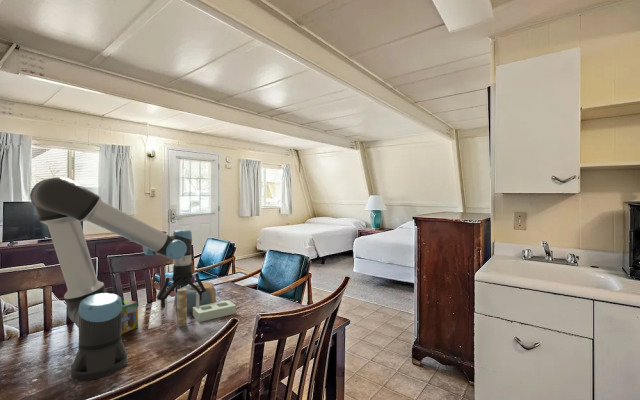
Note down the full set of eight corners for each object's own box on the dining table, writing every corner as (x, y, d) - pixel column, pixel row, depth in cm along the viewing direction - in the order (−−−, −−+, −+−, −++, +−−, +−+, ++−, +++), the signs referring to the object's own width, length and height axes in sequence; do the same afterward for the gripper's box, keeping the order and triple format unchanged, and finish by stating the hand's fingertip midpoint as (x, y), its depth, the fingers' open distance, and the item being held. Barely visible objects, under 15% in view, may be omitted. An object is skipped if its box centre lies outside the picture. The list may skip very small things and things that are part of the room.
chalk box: (138, 328, 131) (139, 294, 131) (116, 336, 122) (116, 300, 122) (126, 324, 135) (126, 291, 135) (103, 332, 127) (104, 297, 127)
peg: (178, 327, 132) (178, 291, 132) (176, 324, 134) (177, 289, 134) (186, 325, 134) (187, 290, 134) (184, 322, 136) (185, 288, 136)
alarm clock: (220, 308, 156) (220, 285, 156) (178, 316, 144) (179, 291, 144) (211, 298, 172) (211, 277, 172) (172, 304, 160) (173, 282, 160)
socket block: (198, 322, 138) (198, 313, 138) (192, 315, 146) (192, 307, 146) (235, 313, 149) (236, 305, 149) (228, 307, 157) (228, 299, 157)
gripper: (152, 269, 124) (151, 320, 124) (213, 262, 139) (212, 307, 139) (149, 266, 129) (149, 314, 129) (208, 259, 145) (207, 303, 145)
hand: (181, 311), depth 134 cm, fingers open, 13 cm apart
